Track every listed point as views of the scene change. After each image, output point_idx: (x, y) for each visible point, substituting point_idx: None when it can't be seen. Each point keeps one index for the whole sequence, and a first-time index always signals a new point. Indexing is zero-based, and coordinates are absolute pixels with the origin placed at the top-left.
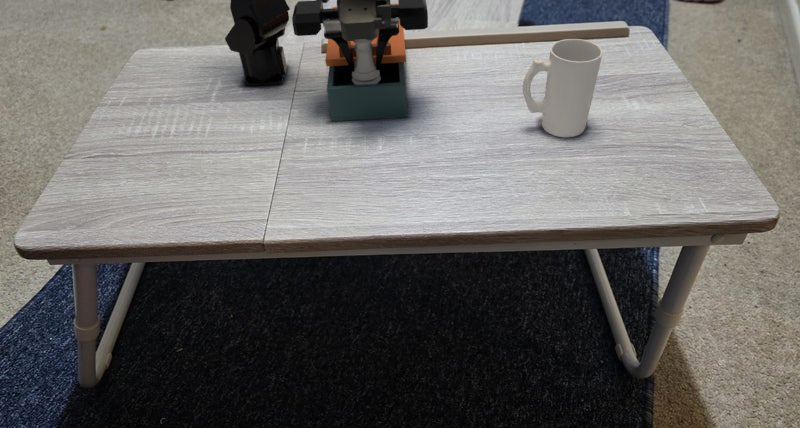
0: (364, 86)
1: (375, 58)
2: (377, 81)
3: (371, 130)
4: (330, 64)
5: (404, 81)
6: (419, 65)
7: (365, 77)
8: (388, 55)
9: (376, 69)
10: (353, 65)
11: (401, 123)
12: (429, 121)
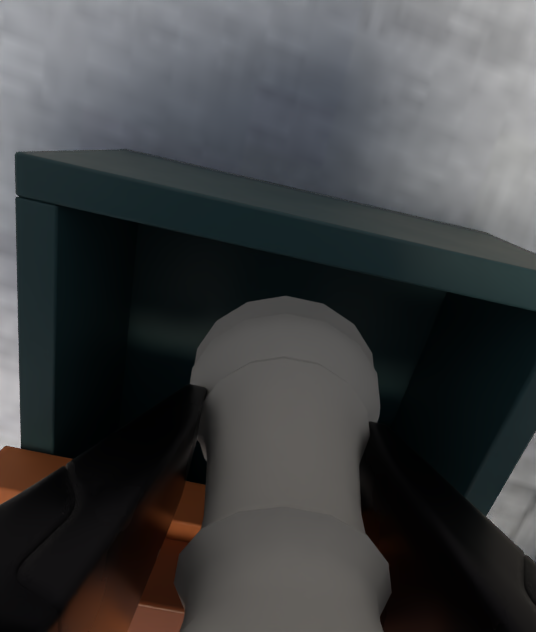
0: (339, 233)
1: (188, 513)
2: (222, 325)
3: (325, 81)
4: None
5: (21, 205)
6: None
7: (306, 333)
8: None
9: (206, 389)
10: (384, 448)
11: (160, 98)
12: (13, 68)
